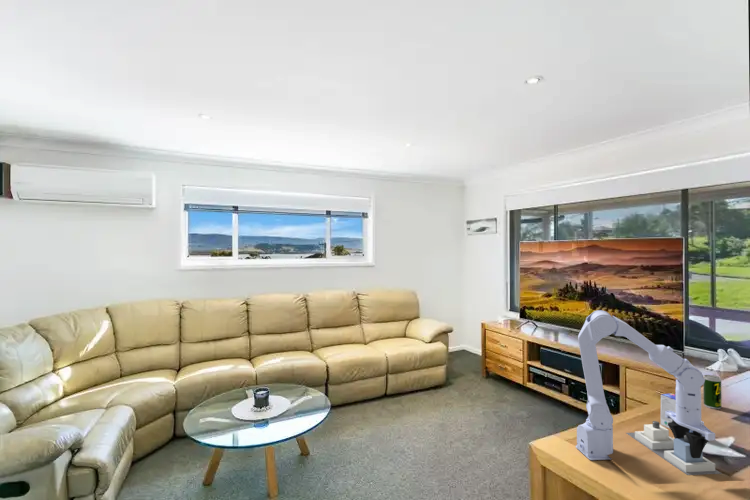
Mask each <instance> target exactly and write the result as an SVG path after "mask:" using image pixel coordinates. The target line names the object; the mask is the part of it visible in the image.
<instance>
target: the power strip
mask: <svg viewBox="0 0 750 500" xmlns="http://www.w3.org/2000/svg"><path fill="white" fill-rule="evenodd" d="M625 434H626V435H628V436H630V437H631V438H632V439H633V440H635V441H637V442H638V443H639V444H640V445H642V446H644V447H645V448H647V449H648V450H650V451H651V452H653V453H654V454H655V455H657V456H658V457H659V458H661V459H663V460H664V461H666V462H667V463H669V464H670V465H672V466H673V467H674V468H676V469H678V470H679V471H681V472H682V473H683V474H684V475H686V476H695V475H696V476H697V475H699V476H700V475H720V474H721V475H722V474H723V473H722V472H720V471H719V470H717V469H716V463H715V462H713V461H711V460H710V459H708V458H706V457H704V456H703V462H696V463H686V462H684V461H683V460H681V459H680V458H678V457H676V456H675V455H674V439H675V438H673V437H671V436H669V441H652V440H650V439H649V438H647V437H646V436H644V430H636V431H634V432H625Z"/></svg>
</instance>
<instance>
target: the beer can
mask: <svg viewBox="0 0 750 500" xmlns="http://www.w3.org/2000/svg"><path fill="white" fill-rule="evenodd" d="M703 378H704V379H705V382H704V384H703V385H702V387H703V390H702V391H703V393H702V394H703V404H704V407H705V408H707V409H712V410H721V408H722V403H723V402H722V401H723V400H722V396H723V395H722V379H721V377H720V376H718V375H715V374H713V375H712V374H704V375H703Z"/></svg>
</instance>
